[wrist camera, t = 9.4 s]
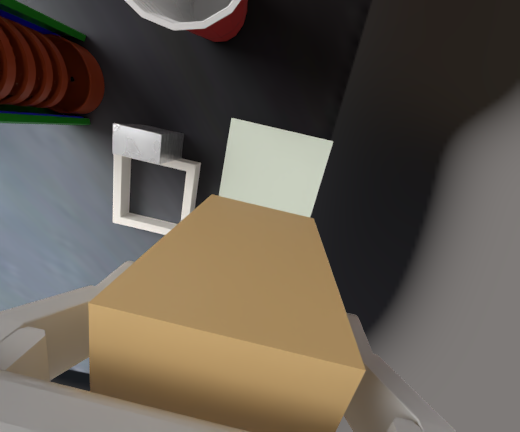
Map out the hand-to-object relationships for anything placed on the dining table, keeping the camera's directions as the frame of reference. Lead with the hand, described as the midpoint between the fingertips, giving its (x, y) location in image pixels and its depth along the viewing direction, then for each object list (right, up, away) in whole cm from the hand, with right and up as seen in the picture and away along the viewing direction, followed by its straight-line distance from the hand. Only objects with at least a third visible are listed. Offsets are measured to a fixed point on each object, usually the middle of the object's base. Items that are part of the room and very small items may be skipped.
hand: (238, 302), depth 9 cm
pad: (+2, +8, +22) cm, 24 cm away
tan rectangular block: (0, +1, +4) cm, 4 cm away
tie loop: (-12, +8, +24) cm, 28 cm away
